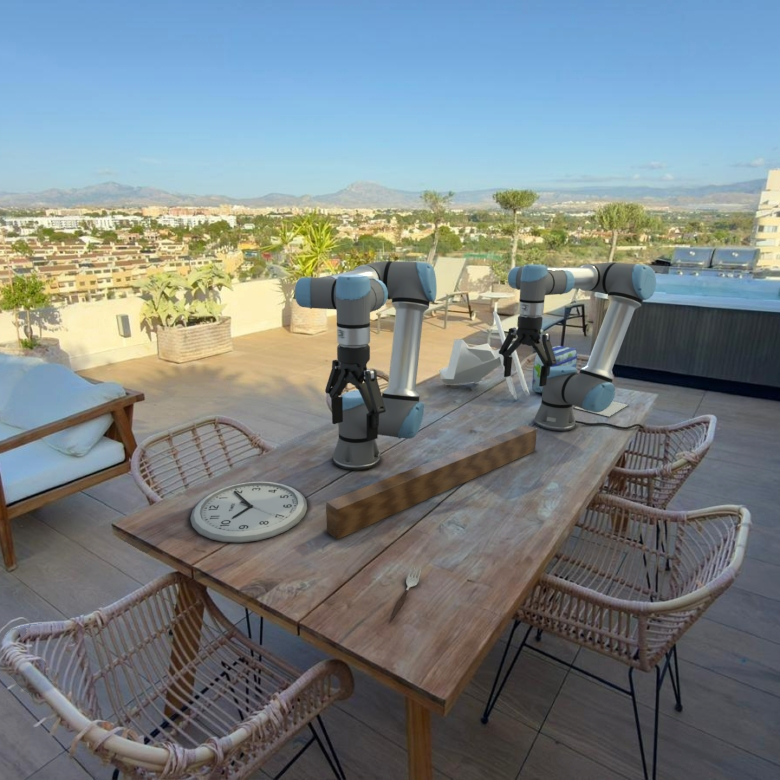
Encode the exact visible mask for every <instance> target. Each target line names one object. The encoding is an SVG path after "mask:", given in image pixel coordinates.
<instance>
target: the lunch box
mask: <svg viewBox="0 0 780 780" xmlns="http://www.w3.org/2000/svg"><path fill="white" fill-rule="evenodd" d="M552 349H553V352H554V355H555V358H556V361H557V364H555V365H552V366H550V367H555V366H570V367H575V368H577V359H578V351H577V348H575V347H567V346H563V345H556V346H552ZM544 351H545V350H544ZM541 366H543V363H542V361H541V360H540V358H539V356H538V354H537V353H536V355H535V357H534V360H533V367H532V380H531V382H532V383H531V385H532V386H531V388H532V392H534V393H539V394H542V391H543V386H542V387H541V386H539V383H540V373H541Z"/></svg>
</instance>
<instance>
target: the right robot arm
mask: <svg viewBox="0 0 780 780" xmlns="http://www.w3.org/2000/svg"><path fill="white" fill-rule="evenodd" d="M507 284H508V285H509V287H510V288H512V289H515V290H518V291H519V299H518V300H519V301H518V312H517V313H518V314H519V315H518V316H517V324H516V327H515V326H514V327H510V328H508V332H507V336H505V337H506V339H505V341H504V343H503V345H502V344H501V347H500V348H499V349H500V350H499V354H501V355H503V357H504V359H503V366H505V369H504V370H503V377H504V378H506V377H508V376H511V377H512V364H513V359H512V357H509V356H511V354H512V353H513V352H514V351H515V350H516V351H517V349H518V348H519V347H520V345H523V346H528V347H532V349H534V351H535V352H536V355H537V354H538V356H539V358H540V360H541V361H542V363H543V366H541V373H540V383H539V386H541V387H542V386H543V391H542V393H541V402H540V405H539V407H538V410H537V411H536V413H535V416H534V424H535V425H536V426H537V427H539V428H542V429H544V430H549V431H556V432H567V431H572V430H574V429H575V428H576V424H580V425H585V426H608V427H612V428H616V429H619V430H629V429H632V428H635V427H639V428H641V429H644V428H645V427H644V426H643V424H640V423H634V424H632V425H627V426H621V425H620V426H619V425H616V424H612V423H608V422H585V421H580V420H576V418H575V417H576V416H575V413H574V407H576V406H577V407H579V408H582V409H584V410H587V411H586V412H588V411H592V412H601V411H603V410H604V409H606V408H607V407H608V406H609V405H610V404H611V403H612V401H614V398H615V396H616V387H615V385H614V384H613V382H614V378H613V375H612V371H613V368H614V365H615V363H616V360H617V357H618V355H619V353H620V350H621V347H622V344H623V341H624V339H625V336H626V334H627V331H628V328H629V326H630V323H631V321H632V317H633V315H634V312H635V310H636V309H639V308H640V307H642V304H643V302H644V301H646V300H649V299H651V297H652V296H653V295H654V293H655V290H656V286H657V277H656V273H655V271H654V269H653V268H652V267H651V266H649V265H646V264H640V263H627V262H626V263H625V262H611V261H610V262H609V261H608V262H599V263H588V264H587V263H586V264H582V265H581V266H550V267H549V266H547V265H546V264H524V265H523V266H515V267H513V268H511V269H510V271H509V272H508V274H507ZM573 289H579V290H580V291H583V292H594V293H598V294H603V295H607V300H608V302H609V305H608V307H607V310H606V312H605V315H604V318H603V321H602V323H601V326H600V328H599V332H598V333H597V336H596V339H595V342H594V345H593V348H592V350H591V352H590V354H589V355H590V356H589V358H588V360H587V363H586V365H585V366H583V367H581V368H580V369H579V372H578V369H577V367H576V368H575V367H570V366H555V367H550V366H552V365H555V364H557V361H556V358H555V355H554V352H553V349H552V347H553V346H552V343H551V334H550V333H542V328H543V320H544V318H543V315H544V309H545V299H546V296H551V295H552V296H553V295H564V294H568V293H570V292H571V291H572V290H573ZM515 337H517V338H516V339H515V340H514V338H515ZM513 340H514V341H513ZM512 342H513V343H512ZM510 344H512V345H511V346H510ZM509 346H510V347H509ZM508 348H509V349H508ZM507 349H508V350H507ZM544 350H545V351H544ZM573 406H574V407H573ZM584 410H583V411H584ZM592 412H591V413H592Z"/></svg>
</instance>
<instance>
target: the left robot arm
mask: <svg viewBox="0 0 780 780" xmlns="http://www.w3.org/2000/svg"><path fill="white" fill-rule="evenodd" d="M437 289H438V288H437V277H436V272H435V269H434V266H433V265H432V264H431V263H429V262H423V261H422V262H421V261H397V260H380V261H375V262H371V263H366V264H362V265H358V266H356V267H355V268H353V269H352V270H350V271H345V272H344V271H343V272H340V273H334V274H330V275H326V276H319V277H314V276H313V277H312V276H304V277H300V278H299V279H298V280H297V281H296V283H295V286H294V298H295V302H296V304H297V305H298V306H299V307H300V308H308V309H311V310H312V309H319V310H336V343H337V346H336V359H333V360H332V361H331V370H330V373H329V377H328V379H327V383H326V386H325V389H324V391H325V394H329V398H330V403H331V404H330V407H331V424H333V425H336V424H338V427H337V428H338V438H337V439H338V440H337V441H336V442H337V443H336V445H335V449H334V452H333V455H332V460H333V461H332V462H333V464H334V465H335V466H336V467H338V468H340V469H342V470H343V469H344V470H348V471H366V470H369V469H372V468H375V467H377V466H379V464H380V463H381V454H382V450H379V446H378V443H377V441H376V440H377V439H378V438H379V437H378V436H384V437H385V436H386V437H391V438H393V437H394V438H398V439H407V440H408V439H413V438H415V437H416V436H417V434H418V433H419V431H420V428H421V426H422V422H423V418H424V413H425V404H424V403H423V402H422V401H420V394H419V393H418V391H416V386H417V379H418V368H419V360H420V351H421V350H420V349H421V339H422V330H423V321H424V313H426V312H427V311H428V310H429V309H430V303H433V302H435V301H436V298H437V293H438V292H437ZM388 300H391V306H392V307H393V308H394V310H395V314H394V315H395V316H394V325H393V334H392V343H391V353H390V363H389V372H388V382H387V387H386V388H385V389H384V390H382V391H381V389H380V385H379V381H378V375H377V370H376V369H368V366H367V364H368V363H369V362H370V360H371V346H370V345H369V344H370V343H371V313H372V312H375V311H378V310H380V309H381V308H382V307H383V306H384V305H385V304H386V303H387V302H388ZM348 384H351V385H352V386H354V388H355V389H356V390H350V391H347V392H344V393H343V391H344V390H345V389H346V388H347V386H348ZM342 393H343V394H342Z"/></svg>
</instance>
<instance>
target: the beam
mask: <svg viewBox="0 0 780 780" xmlns="http://www.w3.org/2000/svg"><path fill="white" fill-rule="evenodd" d="M537 435H538V427H537V428H536V427H534V426H531V425H527V424H524V425H522V426H519V427H517V428H514V429H510V430H508V431H506V432H503V433H501V434H498V435H495V436H493V437H491V438H488V439H485V440H483V441H480V442H478V443H475V444H472V445H470V446H468V447H465V448H462V449H460V450H457V451H454V452H452V453H448V454H446V455H444V456H441V457H438V458H436V459H434V460H431V461H427V462H426V463H423V464H421V465H418V466H416V467H413V468H410V469H408V470H405V471H402V472H400V473H397V474H395V475H392V476H389V477H387V478H384V479H382V480H379V481H376V482H374V483H372V484H369V485H366V486H363V487H361V488H358V489H356V490H353V491H350V492H348V493H345V494H342V495H340V496H338V497H335V498H333V499H330V500H327V501H325V510H326V511H325V512H326V515H325V516H326V532H327V533H328V534H330V535H331V536H332V537H334V538H335V539H336V540H340V539H341V538H344V537H346V536H348V535H352V534H353V533H355V532H357V531H360V530H362V529H364V528H367V527H368V526H371V525H373V524H375V523H378V522H380V521H383V520H384V519H387V518H389V517H391V516H393V515H396V514H397V513H400V512H402V511H404V510H407V509H409V508H412V507H413V506H416V505H418V504H420V503H422V502H424V501H427V500H429V499H431V498H434V497H436V496H439V495H441V494H442V493H445V492H447V491H449V490H451V489H454V488H456V487H459V486H460V485H462V484H465V483H466V482H467V483H468V482H469V481H471V480H473V479H476V478H478V477H481V476H482V475H485V474H487V473H489V472H491V471H494V470H496V469H499V468H500V467H503V466H505V465H507V464H509V463H511V462H514V461H516V460H518V459H520V458H523V457H525V456H527V455H529V454H531V453H534V452H535V451H536V444H537Z"/></svg>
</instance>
